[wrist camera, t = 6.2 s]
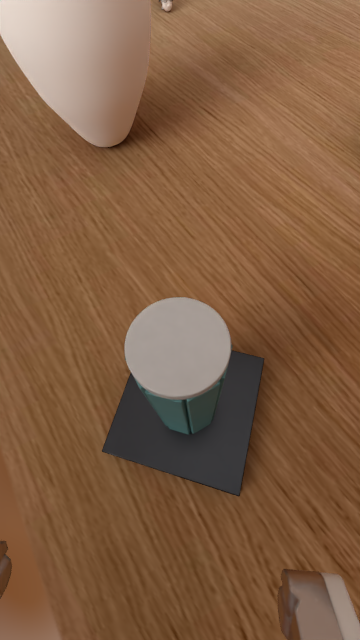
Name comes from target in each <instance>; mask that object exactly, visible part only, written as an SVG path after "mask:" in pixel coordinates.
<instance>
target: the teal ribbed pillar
mask: <svg viewBox="0 0 360 640" xmlns="http://www.w3.org/2000/svg"><path fill="white" fill-rule="evenodd" d="M231 350H232V344H231V337H230V333H229V330H228V328H227V325H226V324H225V322H224V320H223V319H222V318H221V316H220V315H219V314H218V313H217V312H216V311H215V310H214V309H212V308H211V307H210V306H208V305H207V304H205V303H203V302H200V301H198V300H195V299H191V298H184V297H174V298H168V299H164V300H160V301H158V302H155V303H153V304H152V305H150V306H148V307H147V308H145V309H144V310H143V311H142V312H141V313H140V314H139V315H138V316H137V317H136V318H135V319H134V321H133V322H132V324H131V326H130V328H129V330H128V332H127V335H126V340H125V360H126V362H127V365H128V367H129V369H130V371H131V373H132V375H133V376H134V378H135V380H136V382H137V384H138V386H139V388H140V390H141V391H142V393H143V394H144V395H145V397H146V398H147V400H148V401H149V402H150V404H151V405H152V407H153V408H154V410H155V411H156V412H157V414H158V415H159V417H160V418H161V420H162V421H163V422H164V424H165V425H166V426H168V428H169V429H171V430H175V431H178V432H181V433H185V434H188V435H189V434H190V431H191V432H192V434H194V433H196V432H198V431H199V430H201V429H203V428H204V427H206V426H208V425H209V424H211V420H212V421H213V420H214V416H215V412H216V409H217V405H218V402H219V398H220V394H221V391H222V387H223V384H224V380H225V376H226V372H227V368H228V363H229V359H230V355H231Z"/></svg>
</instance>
